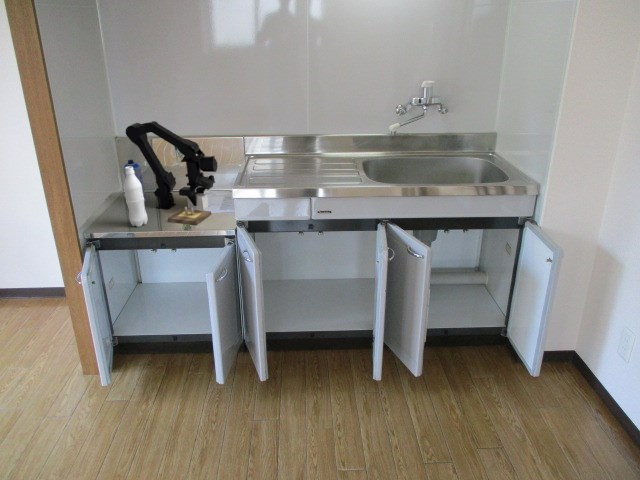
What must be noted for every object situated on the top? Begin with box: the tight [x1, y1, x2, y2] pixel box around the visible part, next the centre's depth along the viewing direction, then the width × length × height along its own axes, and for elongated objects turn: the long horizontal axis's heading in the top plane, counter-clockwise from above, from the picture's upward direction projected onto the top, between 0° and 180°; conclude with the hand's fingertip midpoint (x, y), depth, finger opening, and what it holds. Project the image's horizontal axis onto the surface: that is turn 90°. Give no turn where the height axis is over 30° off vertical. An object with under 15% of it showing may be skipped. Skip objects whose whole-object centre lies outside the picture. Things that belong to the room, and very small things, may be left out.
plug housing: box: [186, 193, 209, 211], centre depth 227 cm, size 8×4×6 cm, turn 71°
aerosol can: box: [122, 159, 148, 203], centre depth 232 cm, size 8×8×20 cm
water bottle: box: [122, 166, 148, 227], centre depth 206 cm, size 7×7×25 cm
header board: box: [167, 205, 212, 226], centre depth 216 cm, size 14×12×5 cm
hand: (198, 204), depth 228 cm, fingers closed on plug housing, 4 cm apart
